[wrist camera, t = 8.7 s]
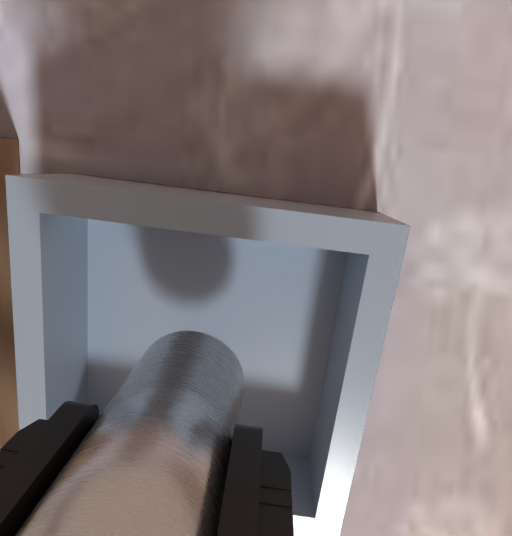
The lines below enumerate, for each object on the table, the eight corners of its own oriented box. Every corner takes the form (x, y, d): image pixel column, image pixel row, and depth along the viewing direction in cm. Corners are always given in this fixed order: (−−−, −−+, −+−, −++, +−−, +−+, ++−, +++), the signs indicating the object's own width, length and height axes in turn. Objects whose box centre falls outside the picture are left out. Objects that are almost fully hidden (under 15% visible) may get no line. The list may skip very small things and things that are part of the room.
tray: (70, 173, 15) (5, 174, 11) (377, 212, 14) (410, 226, 11) (72, 433, 18) (23, 497, 14) (325, 468, 17) (337, 542, 14)
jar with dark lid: (126, 307, 12) (-528, 916, 2) (267, 326, 12) (226, 1038, 2) (122, 427, 13) (-313, 1165, 3) (250, 445, 13) (176, 1255, 3)
